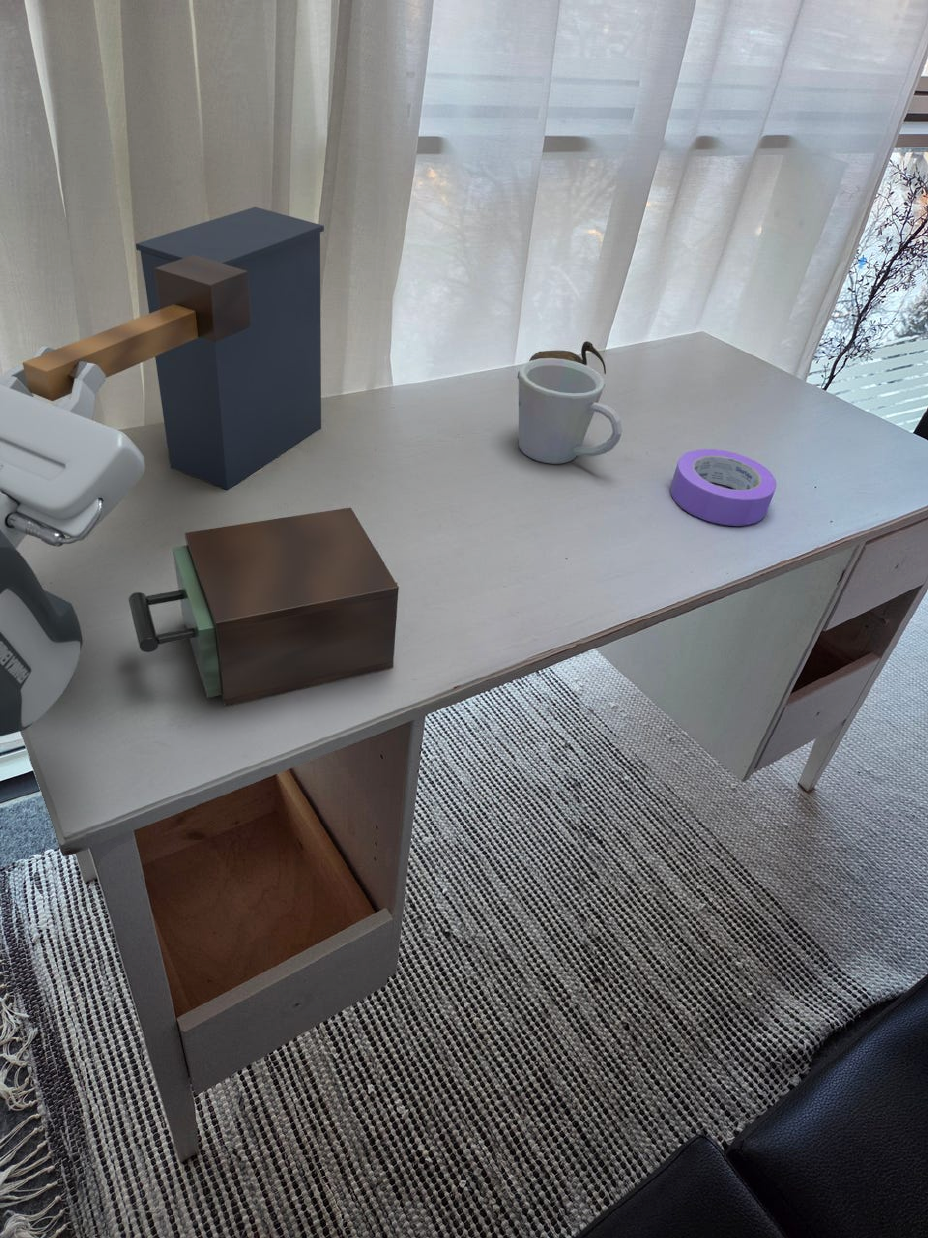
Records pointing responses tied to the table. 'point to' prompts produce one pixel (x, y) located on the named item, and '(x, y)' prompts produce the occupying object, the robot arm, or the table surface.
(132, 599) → the drawer
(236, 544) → the cabinet
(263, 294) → the stand
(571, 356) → the figurine
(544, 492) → the table surface
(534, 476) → the table surface
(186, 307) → the mallet
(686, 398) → the table surface
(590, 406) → the mug
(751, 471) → the tape roll
